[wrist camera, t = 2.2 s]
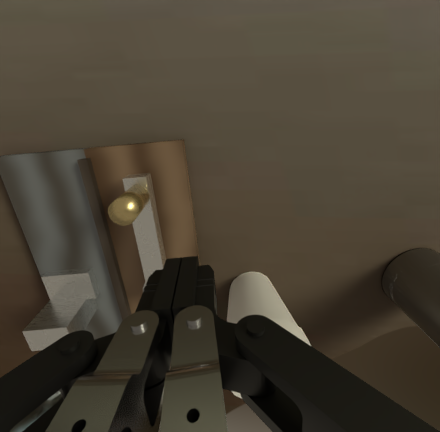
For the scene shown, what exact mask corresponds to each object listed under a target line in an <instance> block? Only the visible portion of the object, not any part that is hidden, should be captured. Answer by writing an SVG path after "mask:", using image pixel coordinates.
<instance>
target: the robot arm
mask: <svg viewBox="0 0 440 432" xmlns="http://www.w3.org/2000/svg"><path fill="white" fill-rule="evenodd" d="M382 287H383V290H384V292H385V294H386V295H387V296H388V297H389V298H390V299H391V300H392V301H393V302H394V303H395V304H396V305H397V306H398V307H399V308H400V309H401V310H402V311H403V312H404V313H405V314H406V315H407V316H408V317H409V318H410V319H411V320H412V321H413V322H414V323H415V324H416V325H417V326H418V327H419V328H421V329H422V331H424V332H425V333H426V334H427V335H428V336H429V337H430V338H431V339H432V340H433V341H434V342H435V343H436V344H437V345H438V346H439V347H440V254H439V253H438V252H436V251H434V250H431V249H425V248H420V249H414V250H410V251H407V252H405V253H403V254H401V255H400V256H398V257H397V258H395V259H394V260H393V261H392V262H391V263H390V264H389V266H388V267H387V268H386V270H385V272H384V274H383V278H382ZM170 365H171V369H170ZM222 388H223V389H226V390H230V391H234V392H238V393H240V394H241V397H242V399H243V400H244V402H245V403H246V404H247V405H248V406H249V407H250V408H251V409H252V410H253V411H254V412H255V413H256V414H257V416H258V417H259V418H260V419H261V420H262V421H263V422H264V423H265V424H266V425H267V426H268V427H269V428H270V429H271V430H272V432H440V431H438V430H436V429H435V428H434V427H432V426H430V425H429V424H428V423H426V422H424V421H423V420H422V419H420V418H418V417H417V416H415V415H414V414H412V413H411V412H409V411H408V410H406V409H405V408H403V407H402V406H400V405H399V404H397V403H396V402H394V401H393V400H391V399H390V398H388V397H387V396H385V395H384V394H382V393H381V392H379V391H378V390H376V389H375V388H373V387H372V386H370V385H369V384H367V383H366V382H364V381H363V380H361V379H360V378H358V377H357V376H355V375H354V374H352V373H351V372H349V371H348V370H346V369H344V368H343V367H341V366H340V365H338V364H337V363H336V362H334V361H332V360H331V359H330V358H328V357H326V356H325V355H323V354H322V353H320V352H319V351H317V350H316V349H314V348H313V347H311V346H310V345H308V344H307V343H305V342H304V341H302V340H301V339H299V338H298V337H296V336H295V335H293V334H292V333H290V332H289V331H287V330H286V329H284V328H283V327H281V326H280V325H278V324H277V323H275V322H274V321H272V320H271V319H269V318H267V317H265V316H262V315H248V316H245V317H243V318H242V319H240V320H239V321H238V322H237V324H236V323H231V322H227V321H224V320H222V319H221V318H220V317H218V315H217V300H216V289H215V280H214V271H213V269H212V268H211V267H210V266H209V265H204V266H199V259H198V256H190V257H183V258H182V257H180V258H169V259H166V261H165V264H164V267H163V269H162V270H155V271H154V272H153V273H152V274H151V275H150V276H149V278H148V280H147V283H146V286H145V288H144V292H143V293H142V296H141V298H140V301H139V303H138V306H137V309H136V311H135V313H133V314H131V315H129V316H128V317H126V318H125V319H124V320H123V321H122V322H121V324H120V326H119V328H118V329H117V331H116V332H115V333H113V334H110V335H107V336H104V337H101V338H98V339H95V340H94V337H93V334H92V333H91V332H89V331H85V330H80V331H75V332H72V333H69V334H67V335H65V336H63V337H62V338H60V339H59V340H57V341H56V342H54V343H53V344H51V345H49V346H48V347H46V348H45V349H43V350H42V351H40V352H39V353H37V354H36V355H34V356H33V357H31V358H30V359H28V360H27V361H25V362H24V363H22V364H21V365H19V366H18V367H16V368H15V369H13V370H12V371H10V372H9V373H7V374H6V375H4V376H3V377H1V378H0V432H10V430H11V429H12V428H13V427H14V426H15V425H16V424H18V423H19V422H20V421H21V420H23V419H24V418H25V417H26V416H28V415H29V414H30V413H31V412H32V411H34V410H35V409H36V408H37V407H39V406H40V405H41V404H42V403H44V402H45V401H46V400H47V399H49V398H50V397H51V396H52V395H54V394H55V393H56V392H57V391H60V393H61V395H62V397H63V398H62V399H61V400H59V401H58V402H57V403H56V404H55V405H53V406H52V407H51V408H50V409H49V410H47V411H46V412H45V413H44V414H43V415H41V416H40V417H39V418H38V419H37V420H35V421H34V422H33V423H32V424H31V425H29V426H28V427H27V428H26V429H25V430H23V431H22V432H158V431H159V427H160V432H228V430H227V422H226V414H225V406H224V398H223V389H222ZM160 422H161V424H160Z"/></svg>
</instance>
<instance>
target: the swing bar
mask: <svg viewBox="0 0 440 432" xmlns="http://www.w3.org/2000/svg"><path fill="white" fill-rule="evenodd" d="M123 184H124V188H125V192H124V193H123V194H122V195H120V196H119V197H118V198H117V199H116V200H114V201H113V202H112V203H111V204H110V205H109V207H108V215H109V217H110V219H111V220H112V221H113V222H114V223H116V224H118V225H121V226H126V225H130V224H131V223H132V224H133V228H134V233H135V237H136V242H137V246H138V250H139V255H140V259H141V264H142V268H143V273H144V277H145V283H144V286H143V292H144V288H145V286H146V283H147V280H148V278H149V276H150V275H151V274H152V273H153V272H154V271H155V270H162V269H163V267H164V264H165V261H166V256H165V251H164V245H163V240H162V234H161V229H160V223H159V218H158V213H157V207H156V202H155V196H154V191H153V185H152V180H151V174H150V173H143V174H132V175H127V176H126V177H124V178H123Z"/></svg>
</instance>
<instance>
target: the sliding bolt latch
mask: <svg viewBox="0 0 440 432" xmlns="http://www.w3.org/2000/svg"><path fill="white" fill-rule="evenodd" d="M143 173H150V174H151V180H152V185H153V191H154V196H155V202H156V207H157V213H158V218H159V223H160V229H161V234H162V240H163V245H164V251H165V256H166V259H169V258H180V257H182V258H183V257H190V256H198V259H199V253H198V245H197V237H196V230H195V222H194V214H193V206H192V199H191V191H190V183H189V175H188V167H187V160H186V152H185V144H184V139H183V140H172V141H161V142H149V143H138V144H127V145H116V146H104V147H93V148H82V149H71V150H59V151H48V152H37V153H26V154H14V155H3V156H0V175H1V178H2V180H3V183H4V185H5V188H6V190H7V193H8V195H9V198H10V200H11V203H12V205H13V208H14V210H15V213H16V215H17V218H18V220H19V223H20V225H21V228H22V230H23V233H24V235H25V238H26V240H27V243H28V245H29V248H30V250H31V253H32V255H33V258H34V260H35V263H36V265H37V268H38V270H39V273H40V275H41V277H42V276H43V275H44V274H45V273H46V272H51V271H62V270H73V269H84V268H93V272H94V275H95V278H96V281H97V285H98V288H99V291H100V293H99V295H98V296H97V298H95V302H96V305H97V308H98V309H97V310H96V312H95V314H94V315H93V317H92V318H91V320H90V322H89V323H88V325H87V327H86V328H85V331H89V332H91V333H92V334H93V337H94V340H95V339H98V338H101V337H104V336H107V335H110V334H113V333H115V332H116V331H117V329H118V328H119V326H120V324H121V322H122V321H123V320H124V319H125V318H126V317H128V316H129V315H131V314H133V313H135V311H136V309H137V306H138V303H139V301H140V298H141V296H142V293H143V286H144V283H145V277H144V273H143V268H142V264H141V259H140V255H139V250H138V246H137V242H136V237H135V233H134V228H133V224H132V223H131V224H130V225H126V226H121V225H118V224H116V223H114V222H113V221H112V220H111V219H110V217H109V215H108V207H109V205H110V204H111V203H112V202H113V201H114V200H116V199H117V198H118V197H119V196H120V195H122V194H123V193H124V192H125V188H124V184H123V178H124V177H126V176H127V175H132V174H143ZM199 266H200V261H199ZM170 366H171V365H170Z"/></svg>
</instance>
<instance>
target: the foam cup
mask: <svg viewBox="0 0 440 432" xmlns="http://www.w3.org/2000/svg"><path fill="white" fill-rule="evenodd" d="M248 315H262V316H265V317H267V318H269V319H271V320H272V321H274V322H275V323H277V324H278V325H280V326H281V327H283V328H284V329H286V330H287V331H289V332H290V333H292V334H293V335H295V336H296V337H298V338H299V339H301V340H302V341H304V342H305V343H307V344H308V345H310V342H309V340H308V339H307V337H306V335H305V334H304V332H303V330H302V328H300V327H298V325H297V324H296V322H295V321H294V319H293V317H292V316H291V314H290V312H289V311H288V309H287V308H286V306H285V304H284V303H283V301H282V299H281V298H280V296H279V295H278V293H277V291H276V290H275V288H274V287H273V285H272V283H271V282H270V280H269V279H268V277H266V276H265V275H263V274H261V273H259V272H247V273H243V274H240V275H239V276H238V277H237V278H235V279H234V280H233V282H232V284H231V286H230V290H229V302H228V313H227V322H231V323H236V324H237V322H238V321H239V320H240V319H242V318H243V317H245V316H248ZM310 346H311V345H310ZM232 393H233V394H234V395H235V396H237V397H239V398H242V397H241V394H240V393H238V392H234V391H232Z"/></svg>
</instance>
